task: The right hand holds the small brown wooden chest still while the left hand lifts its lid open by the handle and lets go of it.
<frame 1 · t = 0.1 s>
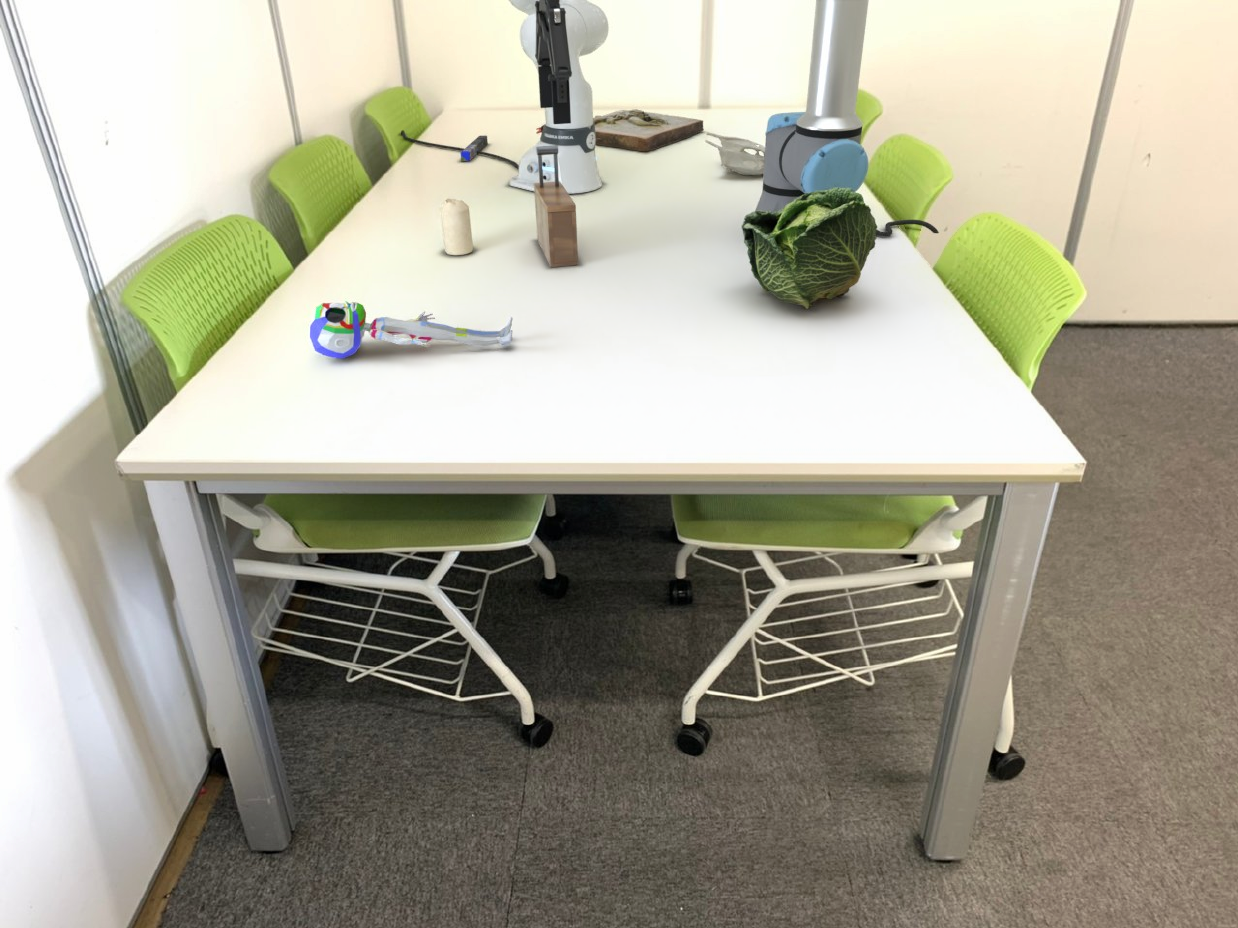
right hand: (555, 115, 149), 28 cm above the table, tool pointing down, fingers open, 13 cm apart
grey square bar: (474, 153, 245), on the table
toy: (415, 350, 138), on the table
vegetable: (805, 298, 153), on the table
plaque: (633, 136, 259), on the table
chest: (557, 252, 175), on the table
lid: (552, 176, 167), point 15 cm above the table, hinge at 0.0°
candle: (459, 251, 176), on the table
anatomical model: (754, 173, 223), on the table
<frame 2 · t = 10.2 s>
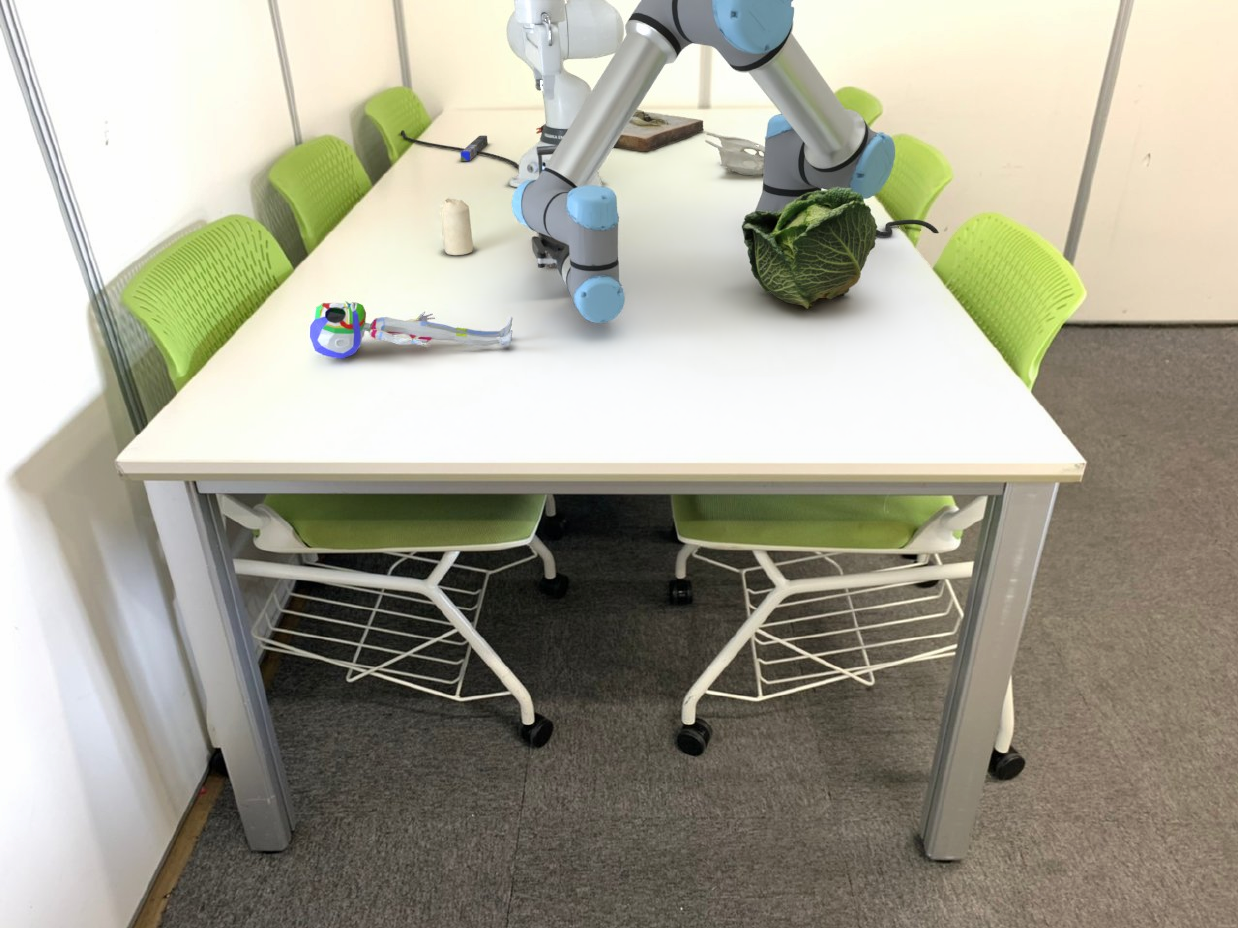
left hand: (544, 94, 164), 28 cm above the table, tool pointing down, fingers open, 8 cm apart
right hand: (559, 228, 168), 6 cm above the table, tool horizontal, fingers closed on chest, 5 cm apart
chest: (557, 252, 175), on the table, touching right hand
everything else where it was.
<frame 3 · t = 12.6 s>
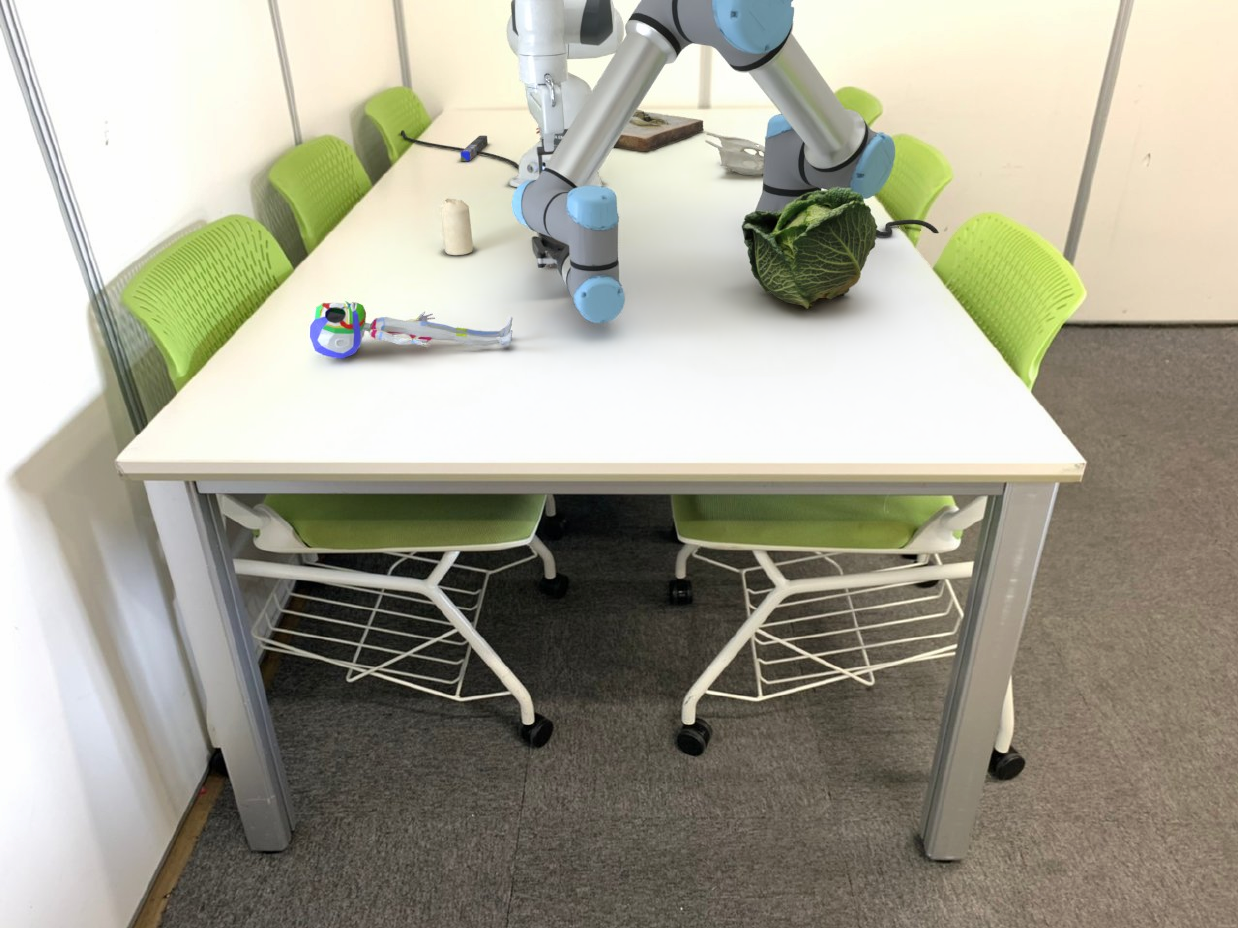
left hand: (547, 149, 170), 18 cm above the table, tool pointing down, fingers closed on lid
right hand: (559, 228, 168), 6 cm above the table, tool horizontal, fingers closed on chest, 5 cm apart
chest: (557, 252, 175), on the table, touching right hand
lid: (553, 176, 167), point 15 cm above the table, hinge at -0.1°, touching left hand
everything else where it was.
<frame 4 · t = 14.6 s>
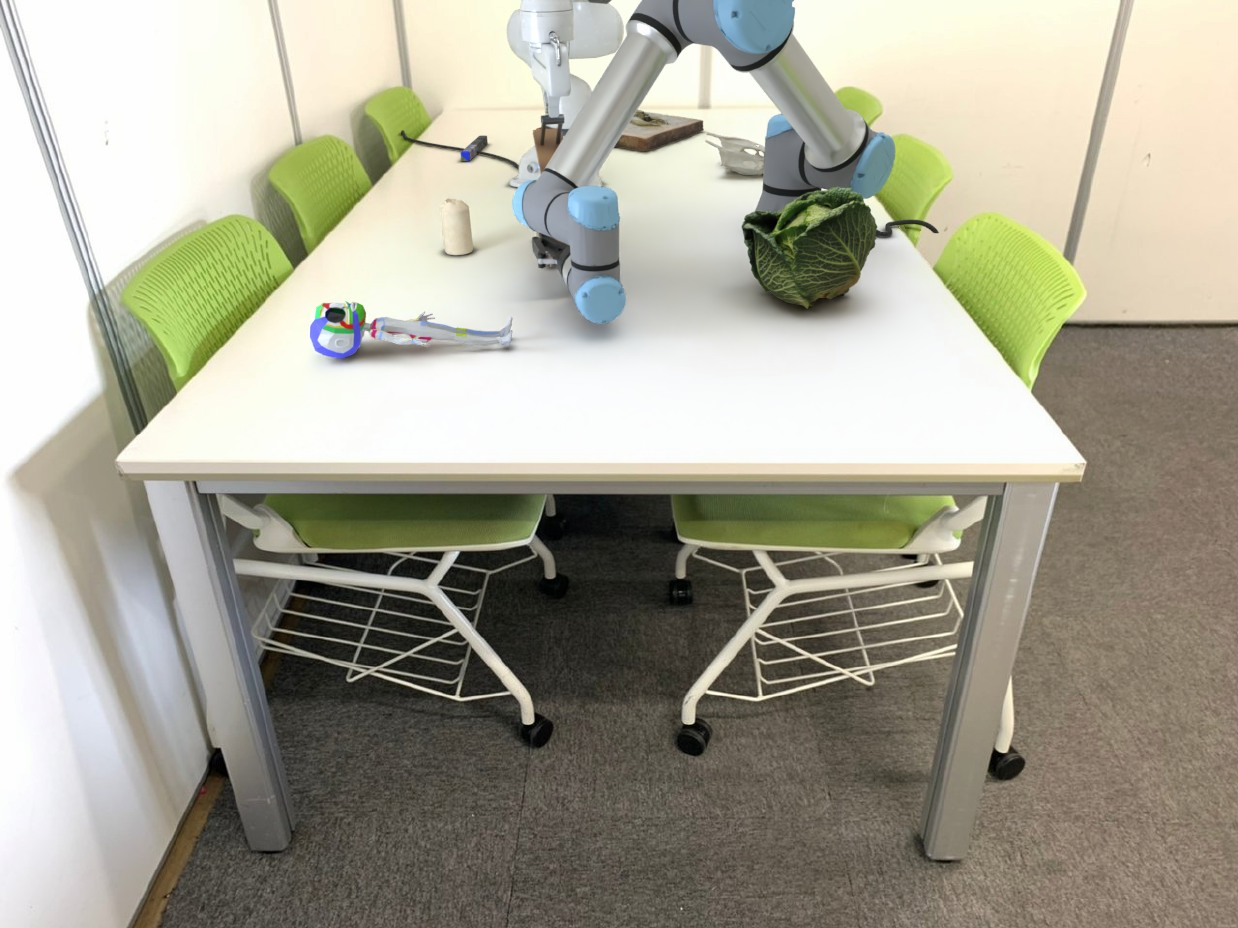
left hand: (552, 115, 158), 26 cm above the table, tool pointing down, fingers closed
right hand: (559, 228, 168), 6 cm above the table, tool horizontal, fingers closed on chest, 5 cm apart
chest: (557, 253, 175), on the table, touching right hand
lid: (556, 157, 161), point 19 cm above the table, hinge at 42.1°, touching left hand
everything else where it was.
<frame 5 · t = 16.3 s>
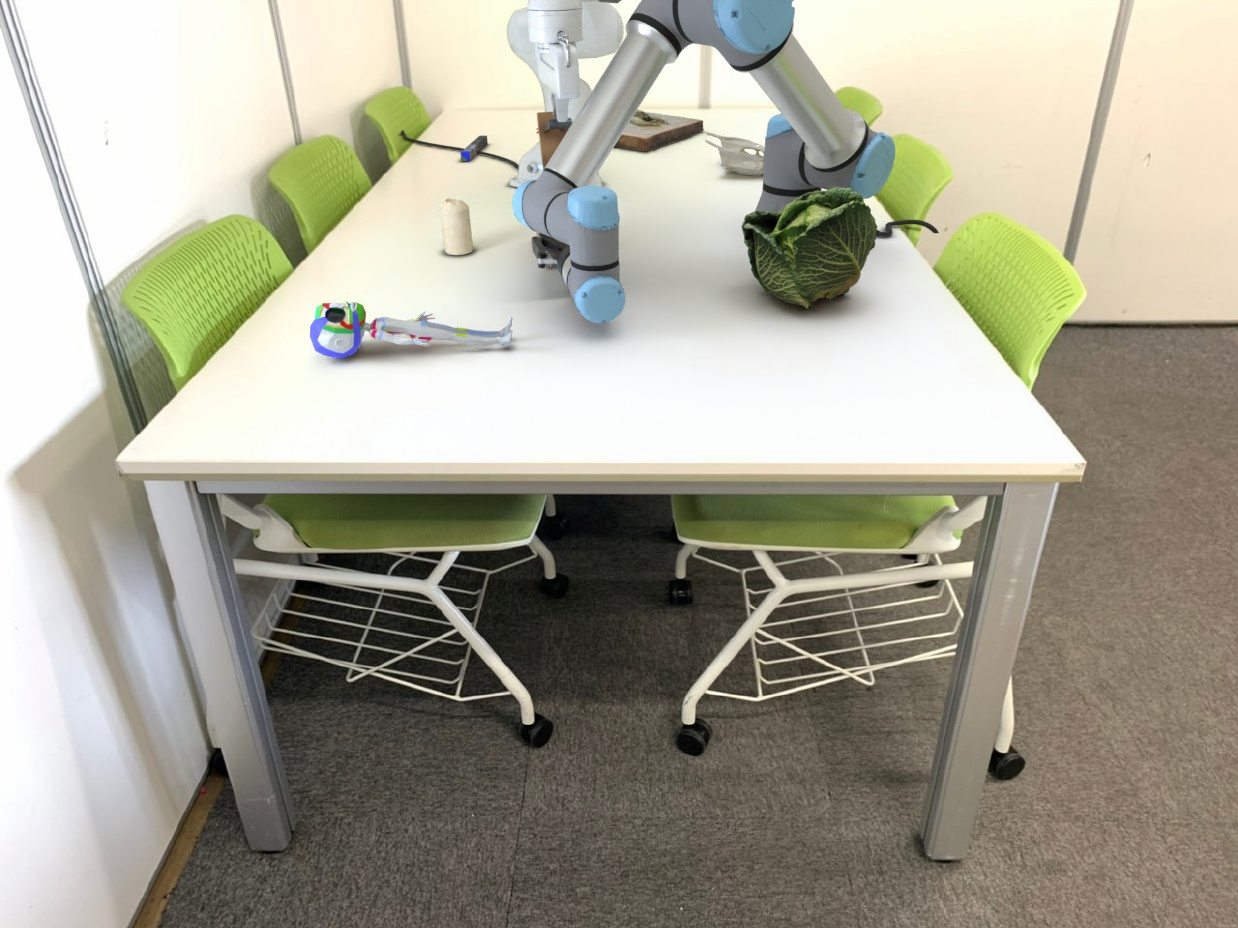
left hand: (560, 119, 151), 27 cm above the table, tool pointing down, fingers closed
right hand: (559, 228, 168), 6 cm above the table, tool horizontal, fingers closed on chest, 5 cm apart
chest: (557, 252, 175), on the table, touching right hand
lid: (560, 158, 157), point 20 cm above the table, hinge at 70.1°, touching left hand
everything else where it was.
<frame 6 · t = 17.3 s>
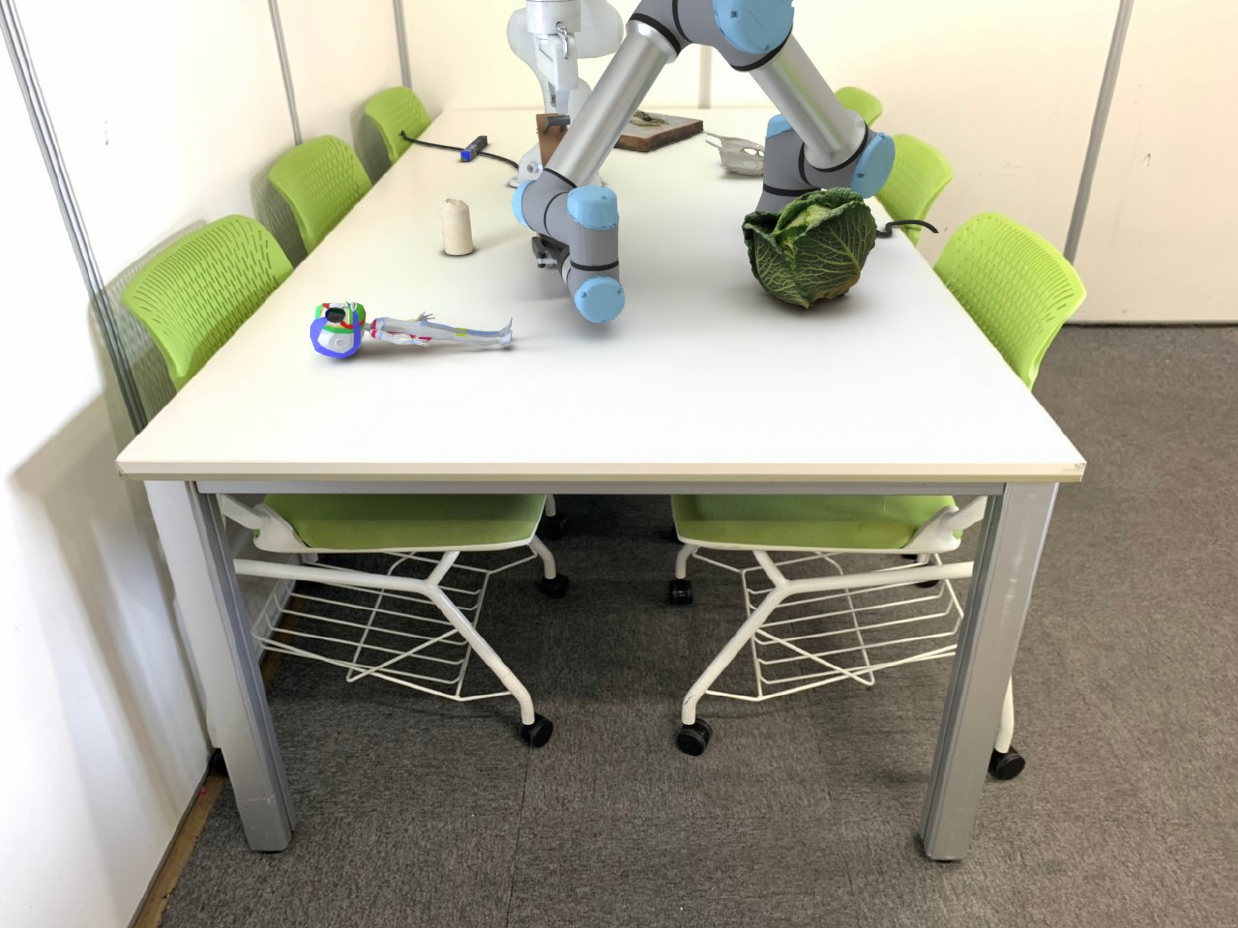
left hand: (558, 110, 151), 28 cm above the table, tool pointing down, fingers open, 5 cm apart
right hand: (559, 228, 168), 6 cm above the table, tool horizontal, fingers closed on chest, 5 cm apart
chest: (556, 252, 175), on the table, touching right hand
lid: (559, 157, 158), point 20 cm above the table, hinge at 64.5°
everything else where it was.
when the right hand's fingers open (6 cm above the table, at t = 19.9 s): chest stays where it is, on the table.
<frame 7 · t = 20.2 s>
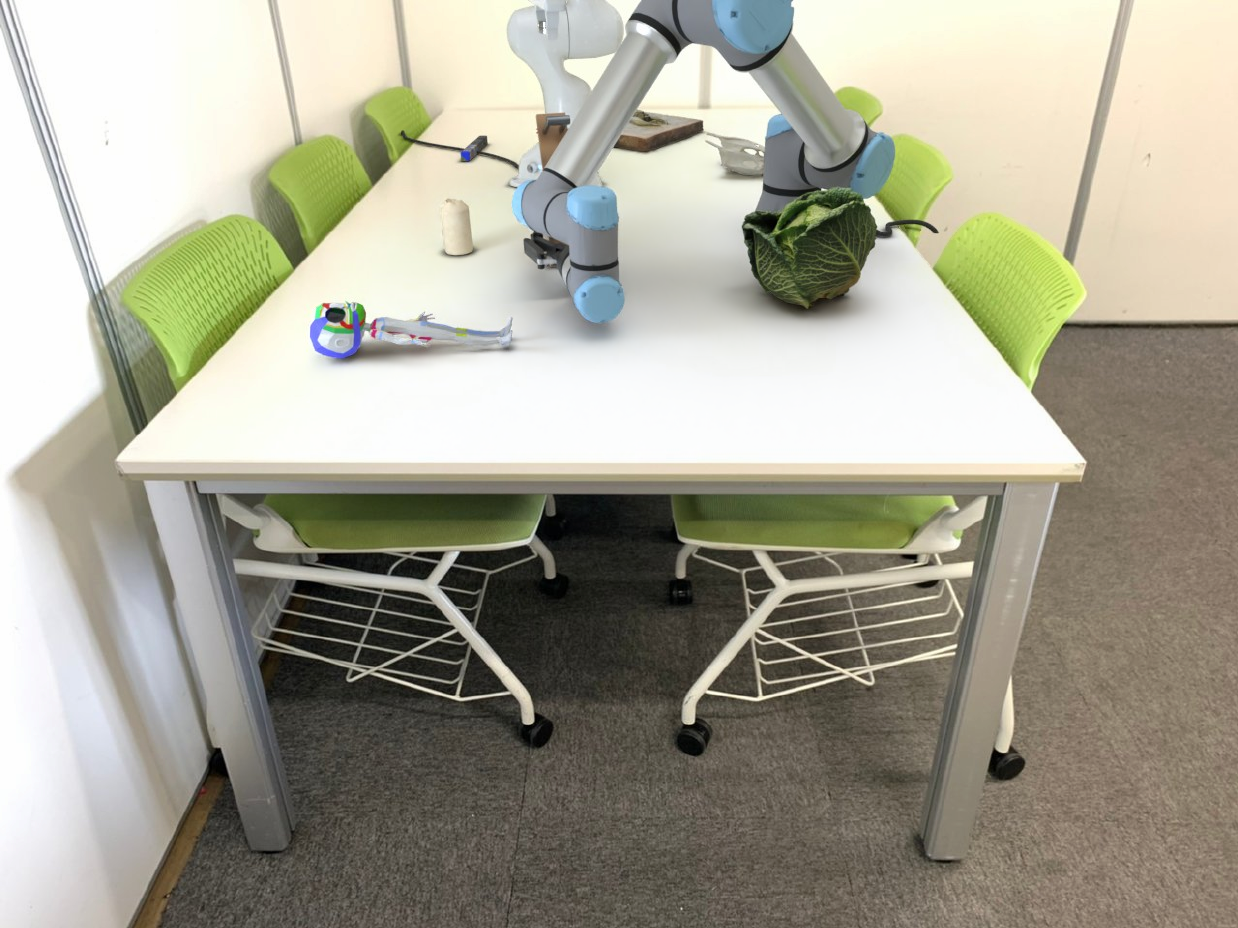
left hand: (547, 36, 153), 39 cm above the table, tool pointing down, fingers open, 8 cm apart
right hand: (559, 229, 168), 6 cm above the table, tool horizontal, fingers open, 8 cm apart
chest: (556, 252, 175), on the table
lid: (558, 156, 158), point 20 cm above the table, hinge at 64.1°
everything else where it was.
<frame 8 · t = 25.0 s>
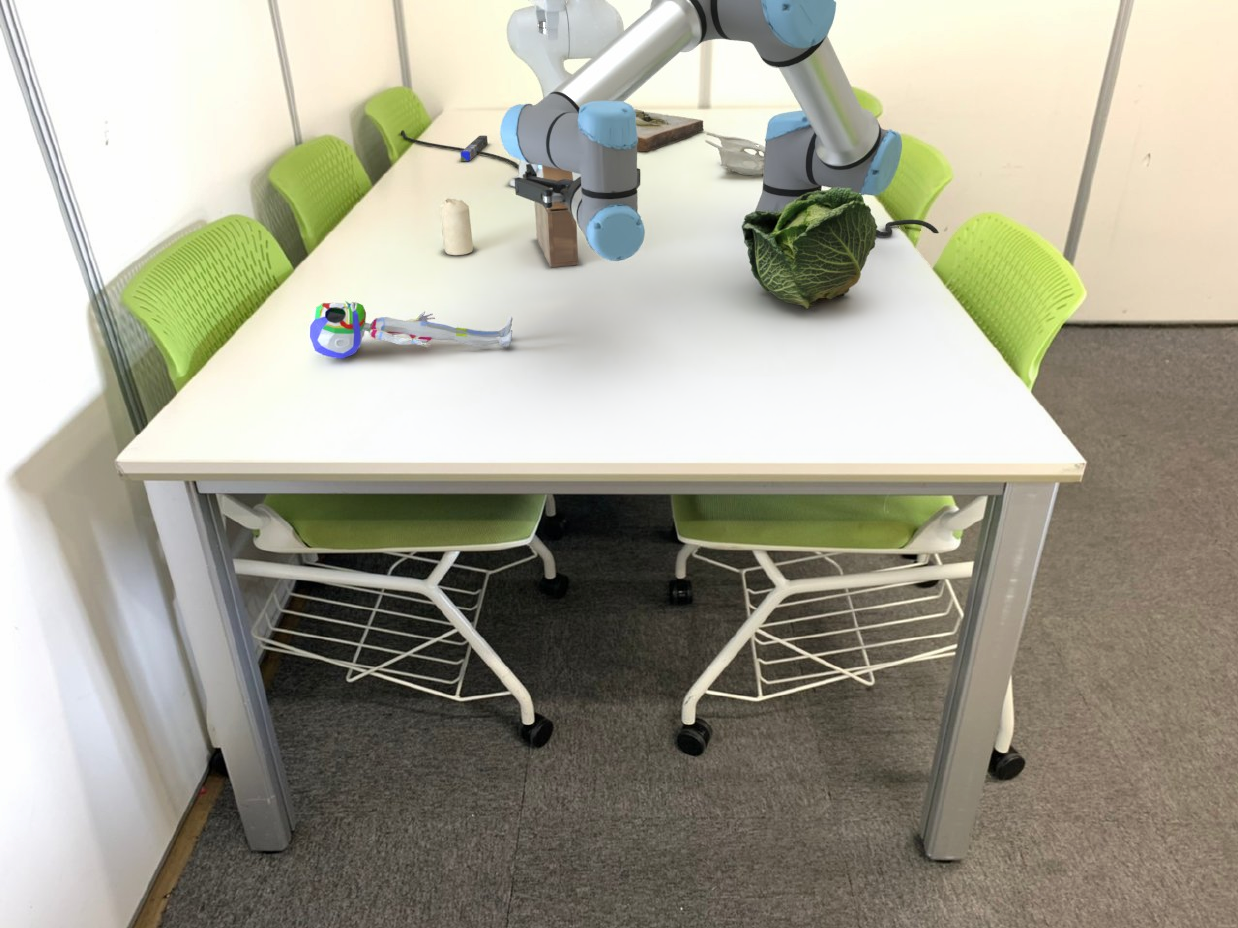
left hand: (547, 36, 153), 39 cm above the table, tool pointing down, fingers open, 8 cm apart
right hand: (569, 169, 149), 20 cm above the table, tool horizontal, fingers open, 13 cm apart
nothing on the table moved.
at the end: lid at +64° (first picture: +0°); the left hand is holding nothing; the right hand is holding nothing; chest tilted 0°; chest never tilted more than 1° during the clip; chest moved 0.0 cm from its start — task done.
